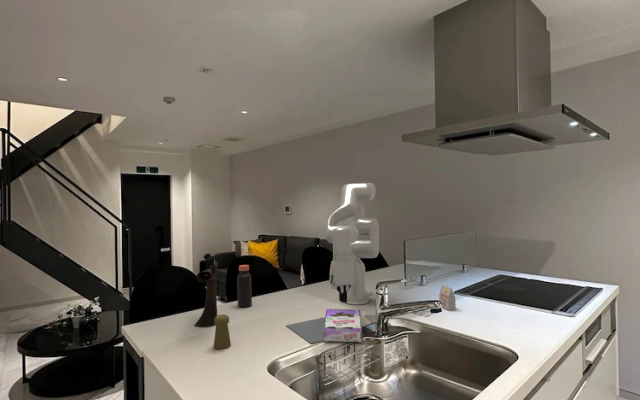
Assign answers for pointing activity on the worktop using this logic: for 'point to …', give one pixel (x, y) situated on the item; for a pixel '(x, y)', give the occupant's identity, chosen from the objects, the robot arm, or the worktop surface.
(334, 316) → the candy box
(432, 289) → the worktop surface
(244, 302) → the bottle
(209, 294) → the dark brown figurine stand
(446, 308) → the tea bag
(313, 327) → the mat
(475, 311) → the worktop surface
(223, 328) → the olive game pawn
